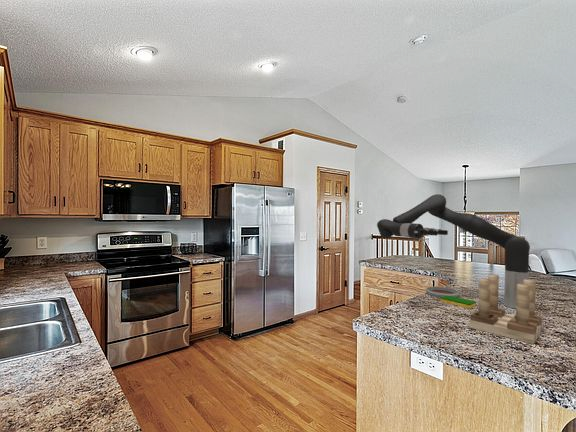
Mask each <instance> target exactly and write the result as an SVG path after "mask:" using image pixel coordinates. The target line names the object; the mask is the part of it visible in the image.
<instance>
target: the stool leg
mask: <svg viewBox="0 0 576 432" xmlns="http://www.w3.org/2000/svg"><path fill="white" fill-rule="evenodd" d="M478 280H479V281H478V305H477V306H478V307H477V309H478V310H477V311H478V316H481V317H486V318H490V289H491V279H488V277H487V278H485V277H479V278H478Z"/></svg>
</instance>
